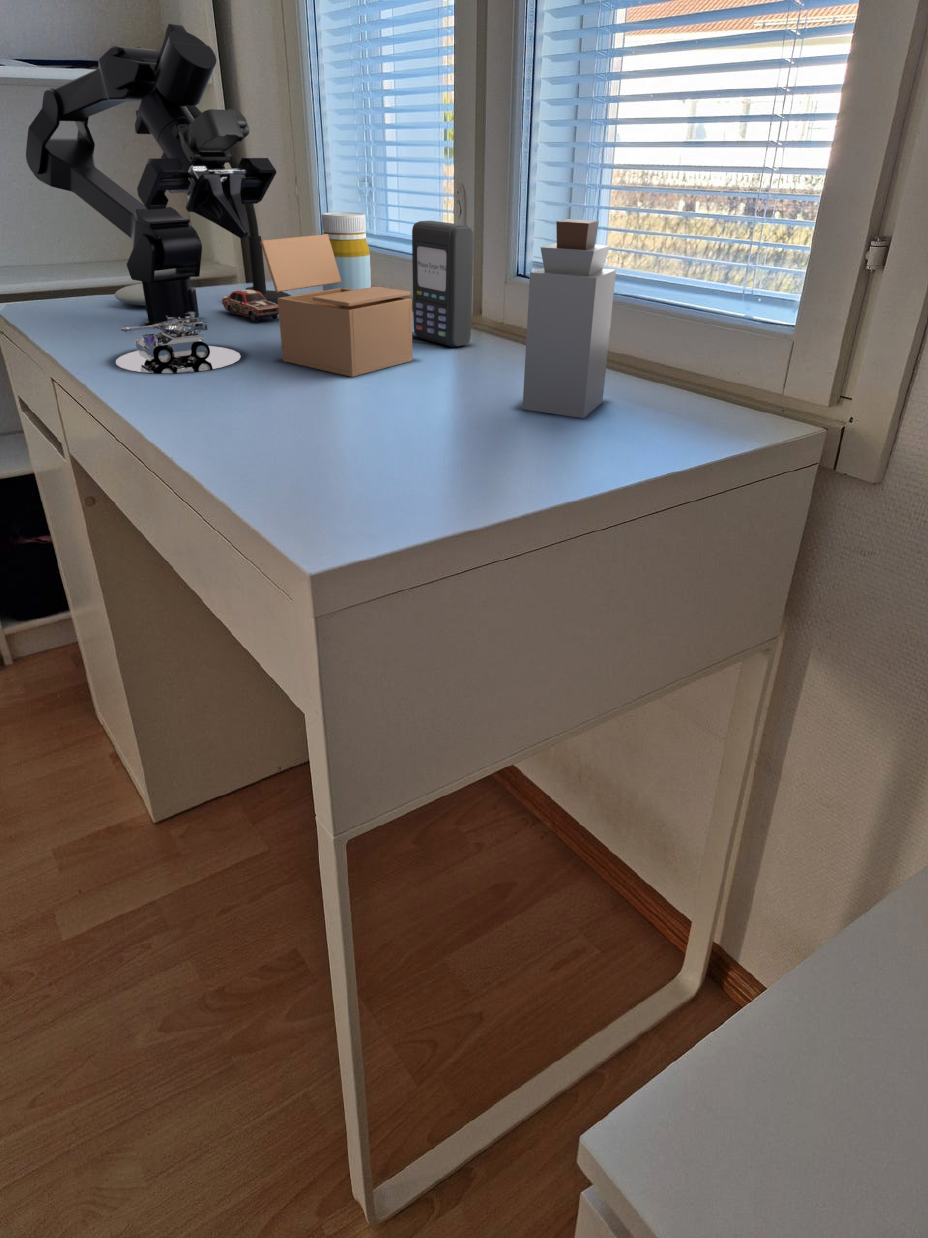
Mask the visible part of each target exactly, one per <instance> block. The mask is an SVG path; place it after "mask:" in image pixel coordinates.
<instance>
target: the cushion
mask: <svg viewBox="0 0 928 1238" xmlns="http://www.w3.org/2000/svg"><path fill="white" fill-rule="evenodd" d="M114 298H115V299H116V300H118V301H119V302H122V303H124V304H128V305H134V306H143V307H146V304H145V298H144V291H143V285H142V283H137V284H131V285H127V286H124V287H122V288H120V289H118V290H117V291H115V292H114Z"/></svg>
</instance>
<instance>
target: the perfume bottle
mask: <svg viewBox="0 0 928 1238" xmlns="http://www.w3.org/2000/svg"><path fill="white" fill-rule="evenodd" d="M555 222H556V223H555V224H556V225H555V226H556V242H554V243H551V244H546V245H543V246H540V247H539V248H540V253H541V258H542V264H543V267H541V268H539V269H536V270H533V271H530V272H529V281H528V282H529V284H528V302H527V319H526V320H527V321H526V338H525V339H526V340H525V354H524V355H525V356H524V375H523V377H524V378H523V390H522V391H523V392H522V410H524V411H525V410H526V411H530V412H531V411H532V412H537V413H538V412H539V413H544V414H545V413H546V414H551V415H552V414H553V415H559V416H565V417H572V418H579V419H585V418H586V417H587V416H588V415H589V414H590V413H592V412H593V411H594V410H595V409H597V408H598V407H599V406H601V404H602V403H603V401H604V391H605V382H606V372H607V371H606V370H607V361H608V352H609V342H610V332H611V323H612V316H613V315H612V314H613V304H614V303H613V302H614V294H615V284H616V275H617V269H614V268H613V269H612V268H604V266H605V263H606V260H607V256H608V254H609V251H610V248H611V245H608V244H607V245H606V244H596V241H597V235H598V234H597V233H598V228H599V222H600V221H599V220H593V219H592V220H590V219H576V218H575V219H574V218H565V219H561V220H557V221H555Z"/></svg>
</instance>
